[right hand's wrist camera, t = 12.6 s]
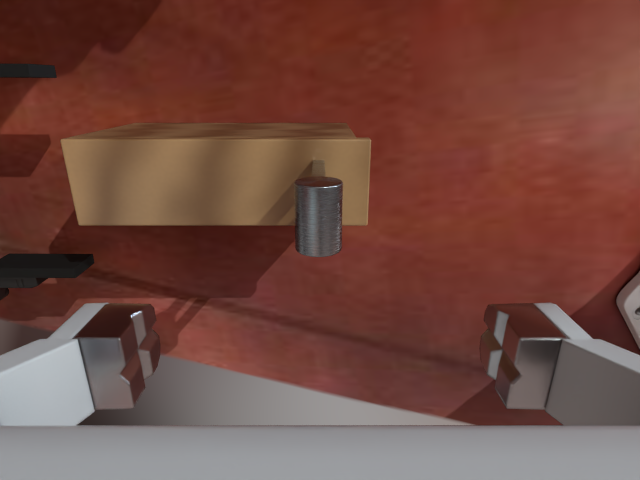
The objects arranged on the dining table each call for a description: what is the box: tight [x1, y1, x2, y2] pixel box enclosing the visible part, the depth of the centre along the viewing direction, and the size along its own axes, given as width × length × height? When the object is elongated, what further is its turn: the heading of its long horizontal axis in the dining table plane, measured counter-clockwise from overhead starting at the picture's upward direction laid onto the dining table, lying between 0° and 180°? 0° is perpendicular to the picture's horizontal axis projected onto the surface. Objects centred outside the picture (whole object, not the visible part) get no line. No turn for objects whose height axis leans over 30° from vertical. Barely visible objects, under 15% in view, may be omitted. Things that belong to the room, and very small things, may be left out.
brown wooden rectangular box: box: [69, 123, 356, 138], centre depth 30 cm, size 17×5×10 cm, turn 90°
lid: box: [60, 138, 371, 257], centre depth 22 cm, size 18×5×8 cm, turn 90°
